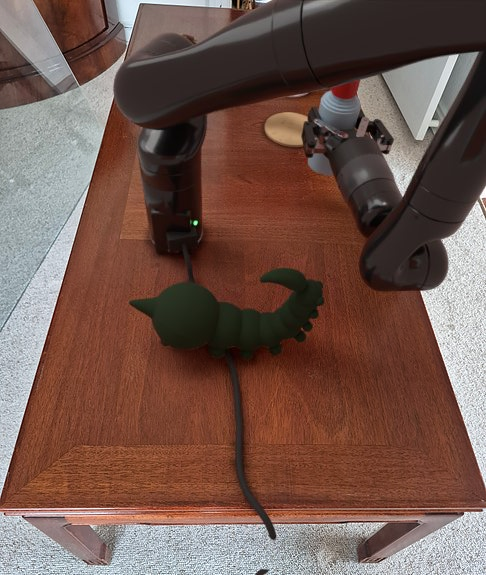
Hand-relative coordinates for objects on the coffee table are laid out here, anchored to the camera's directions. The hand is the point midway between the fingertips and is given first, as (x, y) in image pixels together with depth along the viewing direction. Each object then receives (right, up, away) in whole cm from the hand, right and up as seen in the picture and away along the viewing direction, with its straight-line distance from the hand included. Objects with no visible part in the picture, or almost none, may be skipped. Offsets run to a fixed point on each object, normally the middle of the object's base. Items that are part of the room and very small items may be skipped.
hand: (332, 111), depth 77 cm
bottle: (0, -7, +6) cm, 9 cm away
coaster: (-4, +5, +25) cm, 26 cm away
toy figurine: (-18, -38, -7) cm, 42 cm away
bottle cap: (+1, +1, -5) cm, 5 cm away
